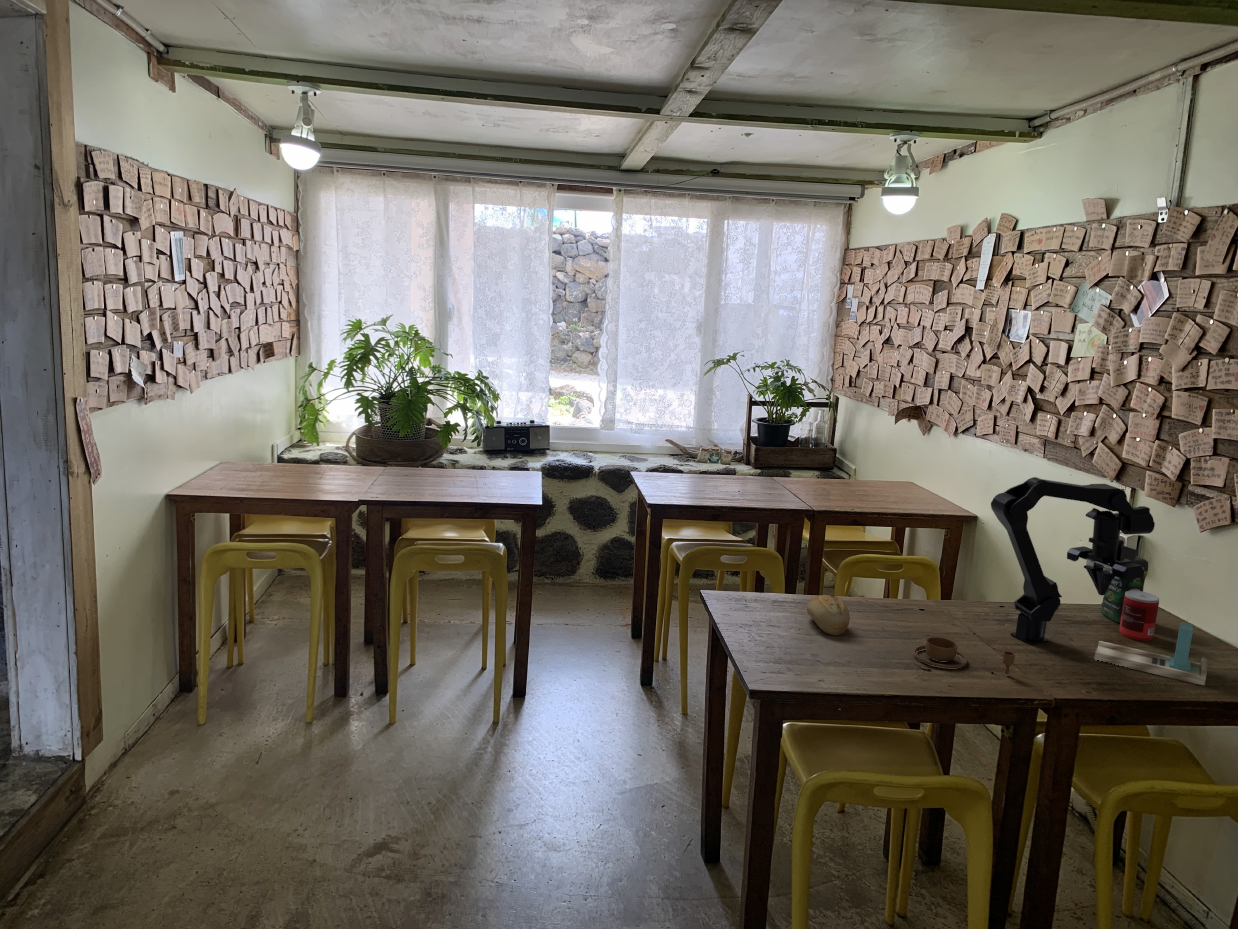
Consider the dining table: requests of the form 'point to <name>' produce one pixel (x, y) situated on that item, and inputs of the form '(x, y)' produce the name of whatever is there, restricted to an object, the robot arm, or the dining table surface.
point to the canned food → (1139, 615)
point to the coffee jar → (1122, 591)
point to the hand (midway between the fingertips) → (1101, 594)
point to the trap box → (1149, 662)
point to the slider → (1182, 648)
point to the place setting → (952, 653)
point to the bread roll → (829, 613)
